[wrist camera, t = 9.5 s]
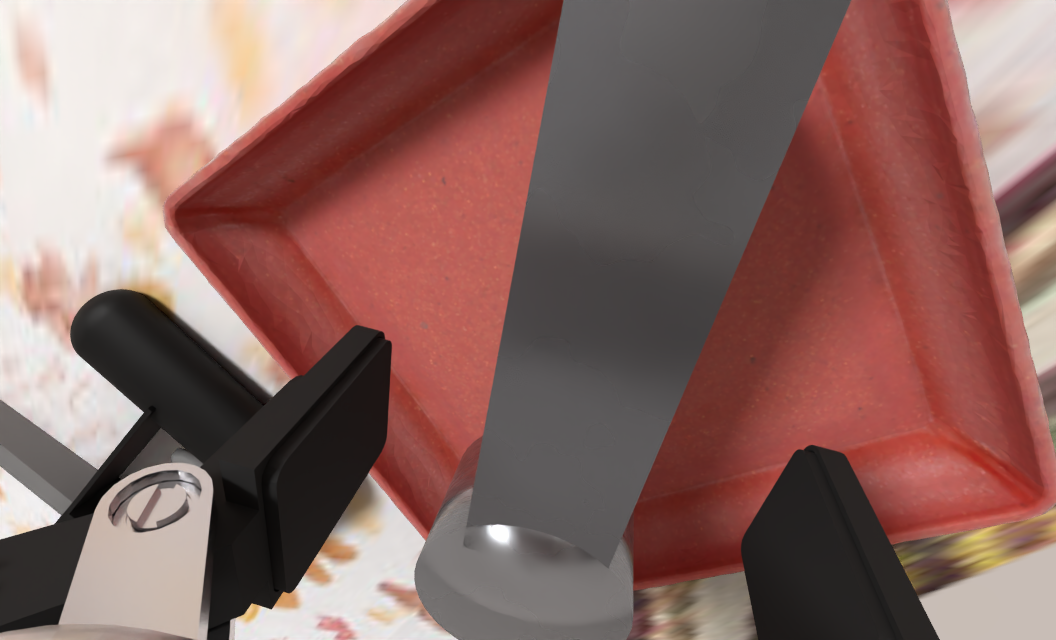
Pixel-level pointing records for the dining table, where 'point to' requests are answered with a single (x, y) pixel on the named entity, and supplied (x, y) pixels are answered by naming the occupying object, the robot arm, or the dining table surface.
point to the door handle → (149, 382)
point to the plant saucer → (744, 316)
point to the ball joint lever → (614, 298)
